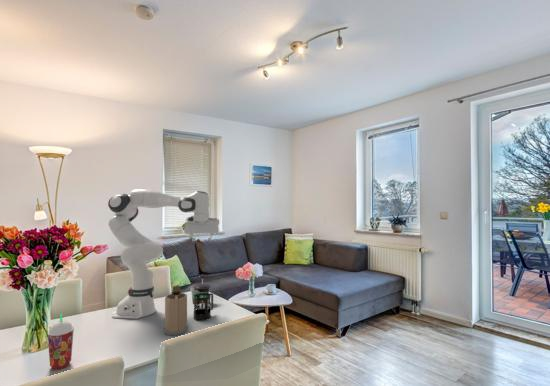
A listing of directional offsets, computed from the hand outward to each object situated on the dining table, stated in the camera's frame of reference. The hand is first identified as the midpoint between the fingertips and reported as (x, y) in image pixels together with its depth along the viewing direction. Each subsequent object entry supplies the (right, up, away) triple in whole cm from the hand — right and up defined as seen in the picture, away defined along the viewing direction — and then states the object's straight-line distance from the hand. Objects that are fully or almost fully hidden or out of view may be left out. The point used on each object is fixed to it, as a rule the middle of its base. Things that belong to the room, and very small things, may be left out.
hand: (201, 241), depth 184 cm
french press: (+5, -39, -17) cm, 43 cm away
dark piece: (-3, -39, +4) cm, 40 cm away
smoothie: (-39, -38, -65) cm, 85 cm away
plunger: (-4, -33, -34) cm, 48 cm away
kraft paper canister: (-4, -39, -33) cm, 51 cm away
